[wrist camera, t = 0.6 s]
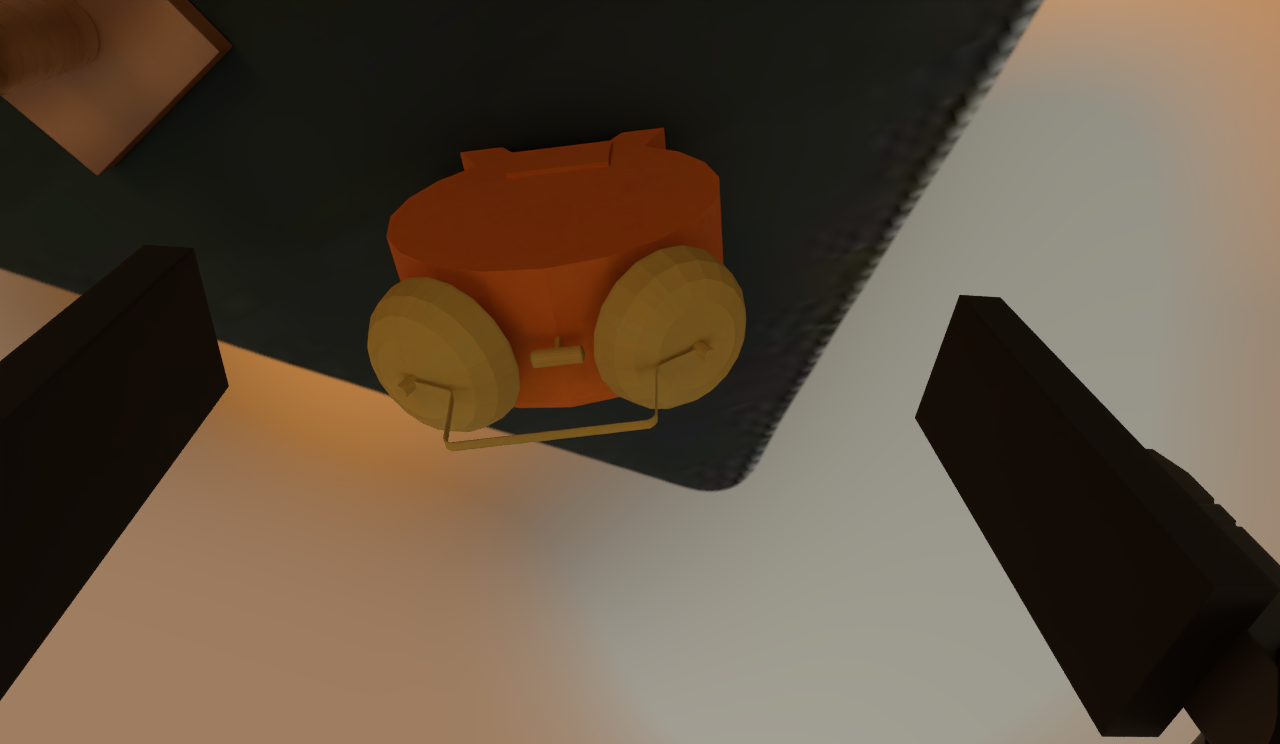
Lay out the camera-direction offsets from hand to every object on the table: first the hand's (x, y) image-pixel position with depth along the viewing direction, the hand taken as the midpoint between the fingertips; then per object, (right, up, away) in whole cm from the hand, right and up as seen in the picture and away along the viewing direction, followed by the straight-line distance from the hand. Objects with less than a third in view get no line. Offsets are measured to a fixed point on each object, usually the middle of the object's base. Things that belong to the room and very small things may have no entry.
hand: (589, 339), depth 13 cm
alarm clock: (-3, +8, +25) cm, 26 cm away
